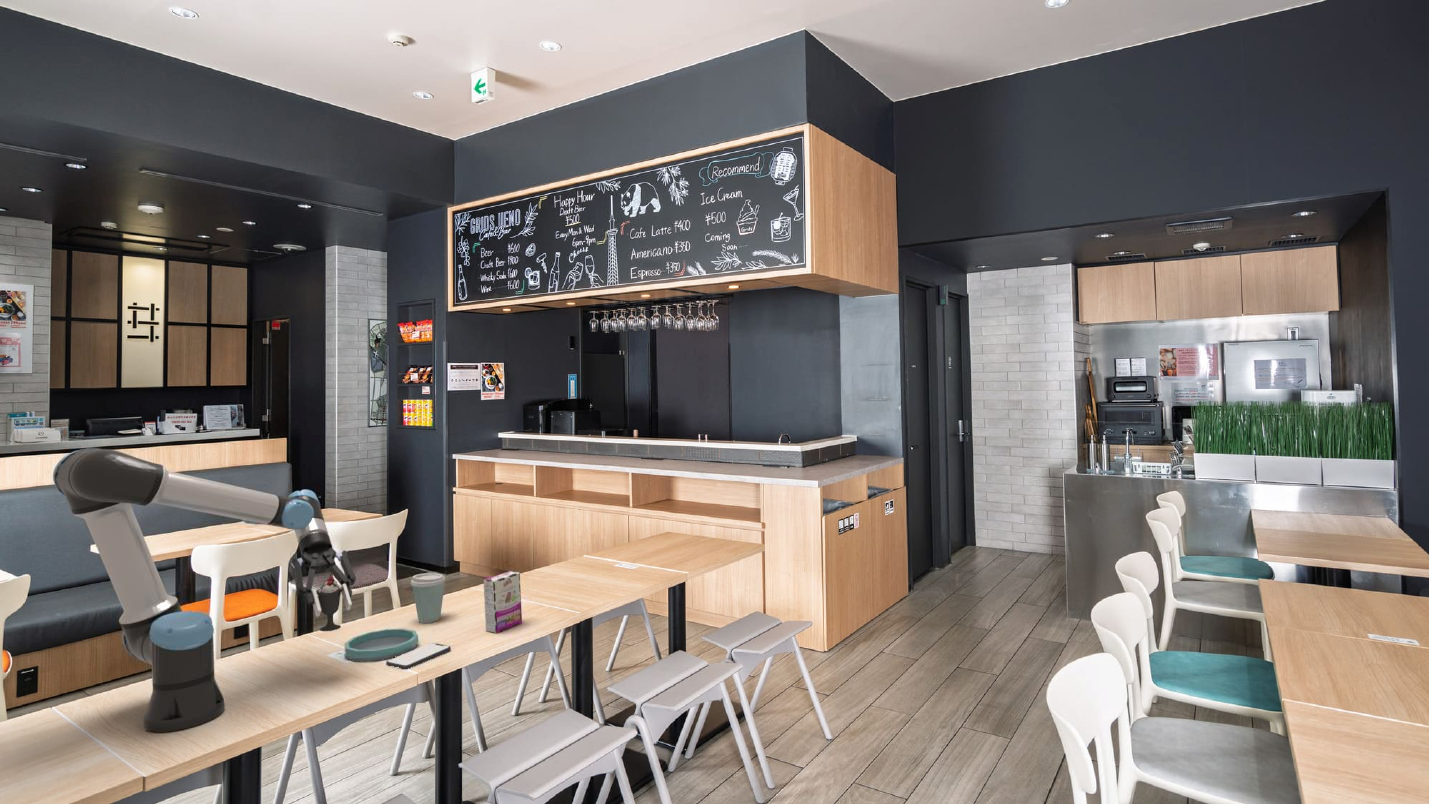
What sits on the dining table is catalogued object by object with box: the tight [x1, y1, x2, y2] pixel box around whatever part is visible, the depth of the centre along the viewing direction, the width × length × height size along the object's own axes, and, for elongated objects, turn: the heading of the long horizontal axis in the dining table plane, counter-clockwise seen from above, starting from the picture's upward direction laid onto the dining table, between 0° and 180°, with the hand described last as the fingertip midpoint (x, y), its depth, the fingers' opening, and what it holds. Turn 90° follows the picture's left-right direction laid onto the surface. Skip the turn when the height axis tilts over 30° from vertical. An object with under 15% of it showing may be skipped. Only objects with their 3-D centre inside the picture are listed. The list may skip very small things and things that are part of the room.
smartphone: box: [385, 642, 452, 670], centre depth 205 cm, size 9×2×16 cm
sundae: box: [316, 572, 344, 632], centre depth 191 cm, size 7×7×15 cm
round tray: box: [344, 628, 419, 662], centre depth 212 cm, size 19×19×3 cm
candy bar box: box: [483, 570, 523, 634], centre depth 229 cm, size 11×5×16 cm, turn 150°
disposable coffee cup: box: [410, 572, 446, 624], centre depth 238 cm, size 11×11×15 cm
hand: (334, 610), depth 188 cm, fingers closed on sundae, 7 cm apart
